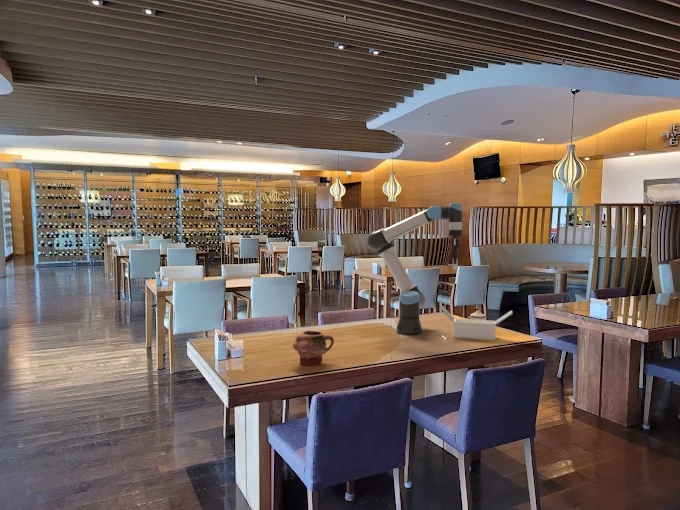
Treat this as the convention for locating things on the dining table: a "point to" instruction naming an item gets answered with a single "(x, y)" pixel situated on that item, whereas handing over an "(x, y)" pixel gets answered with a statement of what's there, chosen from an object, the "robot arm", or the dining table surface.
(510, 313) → the flap
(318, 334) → the brown sculpted mug
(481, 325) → the carton
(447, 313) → the flap
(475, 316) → the teacup with lid
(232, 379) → the dining table surface
